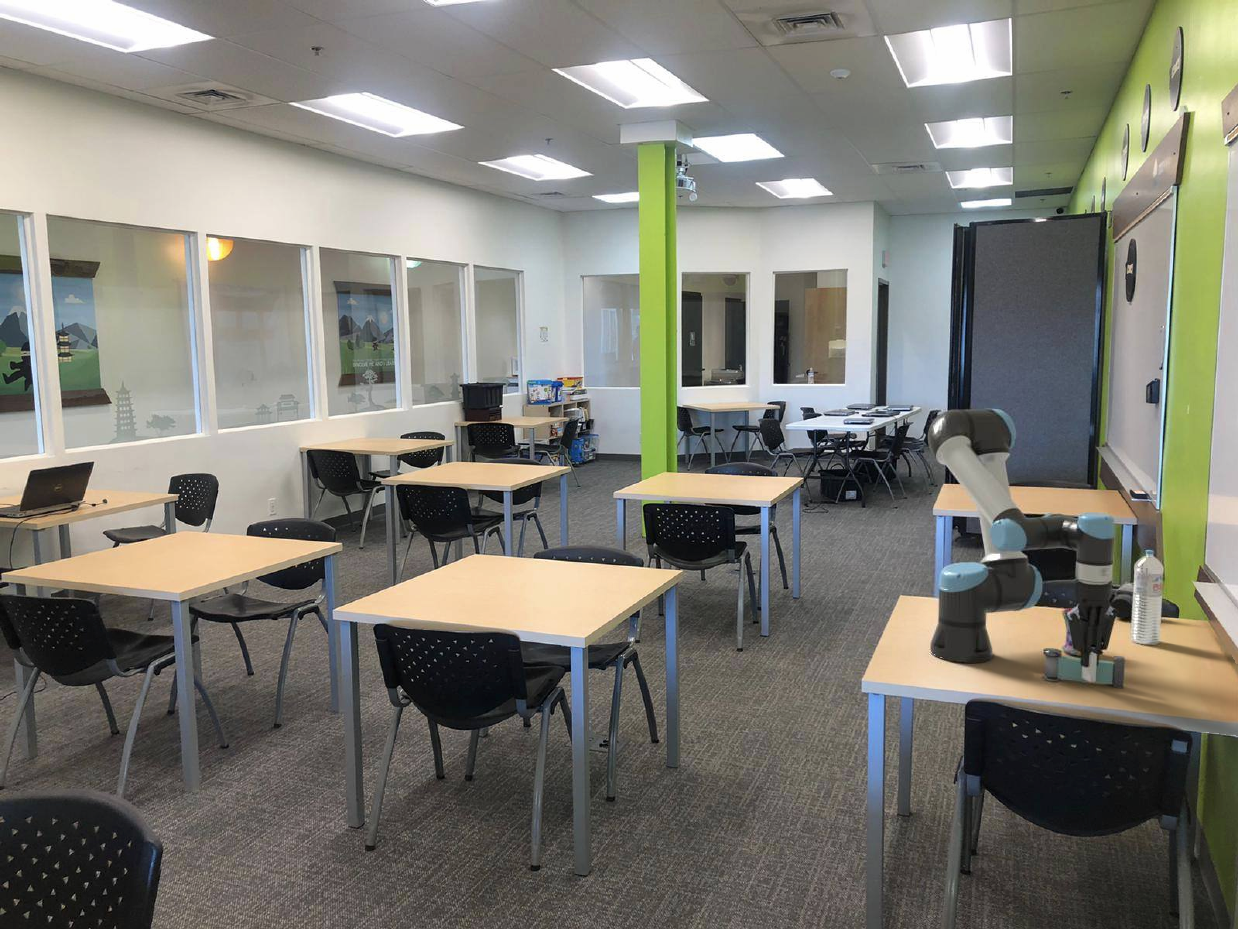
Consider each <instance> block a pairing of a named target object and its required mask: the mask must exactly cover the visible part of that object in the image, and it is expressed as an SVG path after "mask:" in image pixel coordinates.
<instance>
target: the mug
mask: <svg viewBox="0 0 1238 929" xmlns="http://www.w3.org/2000/svg"><path fill="white" fill-rule="evenodd" d="M1073 608H1074V607H1073ZM1073 608H1072V607H1071V608H1064V609H1062V611H1061V614H1062V616H1063V620H1064V623H1065V627H1066V629H1065V632H1066V633H1065V639H1064V642H1063V645H1062V646H1061V649H1062V650H1063V651H1064V653H1065V652H1066V653H1067V654H1070V655H1074V656H1077V657H1078V656H1079V657H1081V652H1080V651H1077V650H1075V649H1073V645H1072V639H1071V633H1070V628H1069V622H1068V619H1067V617H1066V615H1065V611H1071V610H1072V609H1073ZM1078 615H1079V614H1078ZM1080 625H1081V623H1080Z"/></svg>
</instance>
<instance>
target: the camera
mask: <svg viewBox="0 0 1238 929" xmlns="http://www.w3.org/2000/svg"><path fill="white" fill-rule="evenodd" d="M1111 584H1112V590H1111V598H1110V599H1109V602H1110V606H1111V607H1112V608H1114V609H1117V610H1119V614H1118V615H1117V617H1116V618H1119V619H1122V620H1123V619H1124V620H1125V619H1129V618H1132V601H1133V591H1134V582H1128V581H1126V582H1125V583H1124V584H1122V585H1121V584H1120V583H1111Z"/></svg>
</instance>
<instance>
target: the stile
mask: <svg viewBox="0 0 1238 929" xmlns="http://www.w3.org/2000/svg"><path fill="white" fill-rule="evenodd" d="M1125 661H1126V660H1125V657H1124V656H1121V655H1113V676H1112V684H1109V685H1112V686H1113V688H1115V689H1124V681H1125V680H1124V678H1125V664H1126V663H1125Z"/></svg>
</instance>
